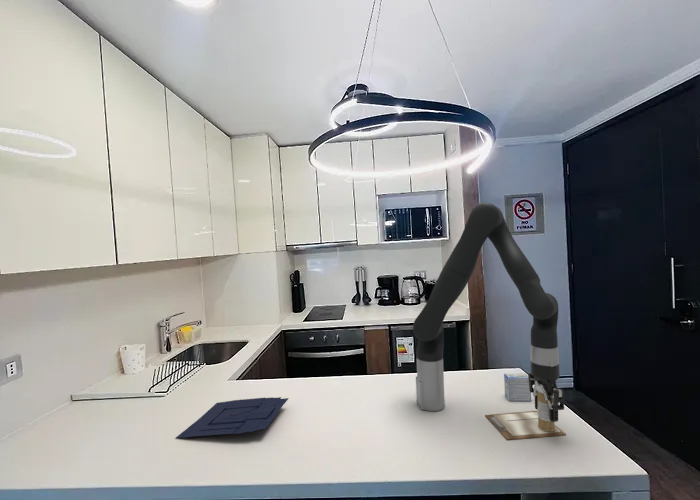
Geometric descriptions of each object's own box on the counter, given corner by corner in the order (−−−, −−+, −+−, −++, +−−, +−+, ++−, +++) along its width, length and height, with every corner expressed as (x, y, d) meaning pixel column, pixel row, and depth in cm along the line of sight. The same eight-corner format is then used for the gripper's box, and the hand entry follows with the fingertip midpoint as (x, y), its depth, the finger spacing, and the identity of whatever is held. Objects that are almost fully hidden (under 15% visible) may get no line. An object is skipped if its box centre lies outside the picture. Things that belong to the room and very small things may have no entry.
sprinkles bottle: (543, 423, 107) (541, 380, 107) (558, 429, 104) (556, 384, 103) (534, 427, 105) (532, 383, 105) (550, 434, 101) (548, 388, 101)
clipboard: (507, 440, 100) (506, 434, 100) (485, 416, 114) (484, 411, 114) (566, 435, 102) (566, 429, 101) (537, 411, 115) (537, 407, 115)
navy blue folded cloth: (264, 441, 104) (262, 429, 104) (176, 446, 109) (174, 435, 109) (291, 403, 127) (290, 393, 127) (218, 409, 133) (216, 400, 133)
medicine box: (526, 396, 127) (525, 372, 127) (531, 401, 123) (531, 377, 123) (504, 396, 128) (503, 372, 128) (508, 401, 124) (507, 377, 123)
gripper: (519, 353, 111) (520, 404, 111) (547, 370, 96) (549, 428, 97) (541, 351, 111) (543, 403, 112) (573, 368, 97) (575, 426, 97)
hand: (546, 414), depth 104 cm, fingers open, 6 cm apart
